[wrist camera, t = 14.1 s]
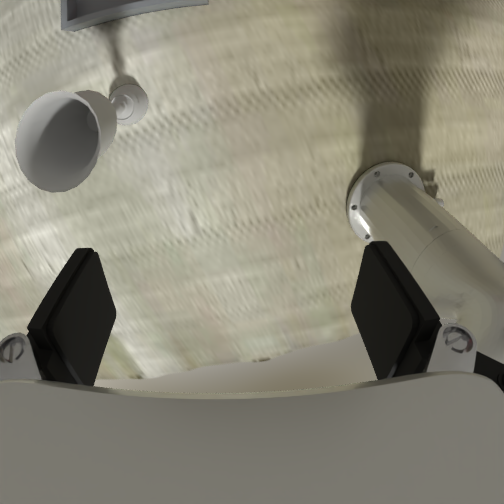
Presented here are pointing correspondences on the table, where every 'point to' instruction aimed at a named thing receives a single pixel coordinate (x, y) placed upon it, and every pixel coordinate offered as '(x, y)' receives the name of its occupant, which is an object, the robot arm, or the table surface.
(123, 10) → the tray
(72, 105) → the chalice
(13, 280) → the table surface
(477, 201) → the table surface
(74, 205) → the table surface
